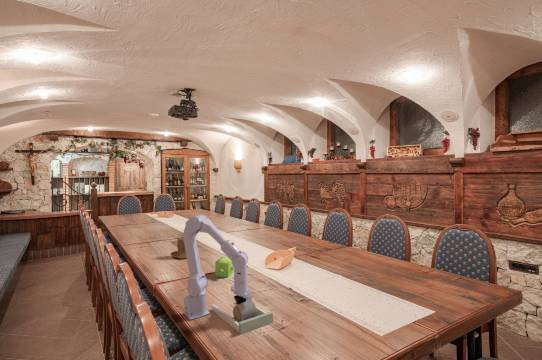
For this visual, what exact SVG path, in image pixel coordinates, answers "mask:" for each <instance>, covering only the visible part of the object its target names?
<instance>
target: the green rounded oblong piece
mask: <svg viewBox="0 0 542 360" xmlns="http://www.w3.org/2000/svg"><path fill="white" fill-rule="evenodd" d="M214 265H215V266H214V267H215V269H214V270H215V271H214V272H215V273H214V276H215V277H216V278H230V277H231V276H232V275H234V267H233V265H232V260H230V259H229V258H228V257H227V256H221V257H220V258H218V259H217V260H216V261H215V263H214Z"/></svg>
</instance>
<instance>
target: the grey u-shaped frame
mask: <svg viewBox="0 0 542 360" xmlns="http://www.w3.org/2000/svg"><path fill="white" fill-rule="evenodd" d="M246 301H247V300H246ZM255 306H256V310H257V316H256V317H253V318H250V319H247V320H244V321H241V322H239V323H238V322H237V321H236V320H235V318H234V317H232V316H231V315H229V314H228V313H226V312H225V311H224V310H223V309H222V308H220V307H219V306H218V305H216V304H215V303H212V304H211V311H212V312H213V313H215V314H216V315H217V316H218V317H219V318H220V319H222V320H223V321H225V322H226V323H227V324H228V325H230V327H232V328H234V330H235V331H237V332H238V333H239V334H240V335H242V334H245V333H248V332H250V331H253V330H257V329H258V328H259V329H260V328H262V327H264V326H267V325H270V324H273V323H274V313H273V311H269V312H267V311H265V310H263V309H262V308H261V307H259V306H257V305H256V304H255Z"/></svg>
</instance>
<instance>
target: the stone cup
mask: <svg viewBox="0 0 542 360" xmlns="http://www.w3.org/2000/svg"><path fill="white" fill-rule="evenodd" d="M176 241H177V242H176V247H177V250H175V251H172V252H170V256H173V257H174V258H177V259H187V257H186V251H185V245H184V240H183V236H180V237H178V238H177V240H176Z"/></svg>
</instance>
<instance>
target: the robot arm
mask: <svg viewBox="0 0 542 360" xmlns="http://www.w3.org/2000/svg"><path fill="white" fill-rule="evenodd" d="M184 223H185V224H184V225H185V226H184V229H183V232H182V237H183V240H184V245H185V251H186V257H187V258H186V263H187V267H188V273H189V275H188V278H187V288H186V291H187V293H188V295H187V296H185V297H184V298H183V314H184V315H185V316H186V318H187V319H188V320H189V321H190V320H195V319H198V318H201V317H204V316H207V315H208V316H209V315H210V314H211V312H210V311H208V309H207V307H208V306H207V305H208V304H207V290H206V288H207V287H208V286H209V280H208V278H207V277H206V274H205V272H204V271H203V269H202V266H201V265H202V264H201V260H200V255H199V253H200V252H199V249H198V243H197V236H198V234H199V233H205V234H206V233H207V234H208V235H209V236H210V237H211V238H213V240H215V242H217V244H219V245H220V250H221V252H223V254H224V255H226V256H225V257H228V258H229V259H230V260H232V265H233V267H234V272H233V283H234V285H233V286H231V287H230V291H231V292H233V294H234V296H233V299H234V301H235V302H236V305H238V304H241V303H244V302H246V300H247V301H251V300H252V301H253V299H252V297H253V296H252V295H251V294H250V289H249V288H248V261H249V256H248V254H247V253H246V252H245V251H243V250H242V249H239V247H237V245H236V244H235V241H232V240H230V239H226V238H225V237H224V235H223V234H222V233H221V231H220V230H219V229H218V228H217V227H216V226H215V225H214V223H213V222H212V221H211V219H210V218H209V217H208V216H207V215H206V214H204V213H199V214H197V215H194V216H191V217H189V218H188V219H187V221H185V222H184Z"/></svg>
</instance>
